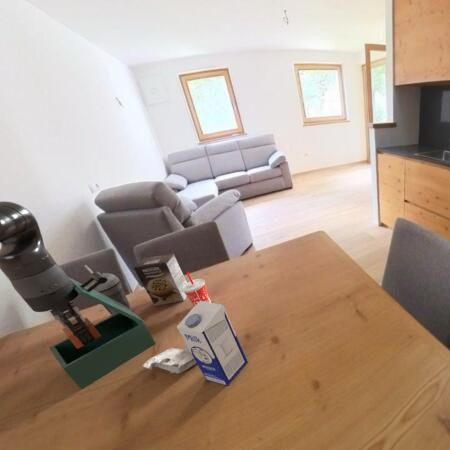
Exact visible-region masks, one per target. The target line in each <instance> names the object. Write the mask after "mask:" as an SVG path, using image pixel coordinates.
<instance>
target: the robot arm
mask: <svg viewBox="0 0 450 450" xmlns="http://www.w3.org/2000/svg"><path fill="white" fill-rule="evenodd" d="M0 271H1V272H2V273H3V274H4V276H5V277H6V278H7V279H8V280H9V281H10V284H11V286H12V287H13V289H14V290H15V292H17V294H18V295H19V296H20V297H21V298H22V300H23V301H24V302H25V303H26V304H27V305H28V307H29V308H30V309H31V310H32V311H33V312H35V313H45V312H48V311H49V313H50V314H51V316H52V317H53V318H54V319H55V320H56V321H58V322H59V323H60V324H61V326H62V327H63V329H64V328H65V329H70V330H71V331H72V332H73V333H72V334H73V335H74V336H76V337H77V338H78V339H79V340H80V342H81V343H82V344H83V345H87V344H89V343H91V342H93V341H94V340H95V338H94V337H93V335H92V334H91V333H90V331H89V327H88V326H86V324H85V323H84V321H85V317H84V316H83V315H82V313H81V312H80V308H79V307H78V306H77V305H76V304H75V303H74V302H73V301H74V300H75V299H76V298H77V297H78V296H79V295H80V294H79V293H78V292H77V291H76V290H75V289H74V284H73V283H72V282H71V280H70V279H69V278H70V277H69V275H67V273H66V272H65V270H64V269H63V268H62V267H61V266H60V265H59V264H58V263H57V262H56V260H55V259H54V258H53V256H52V255H51V254H50V253H49V251H48V250H47V249H46V247H45V243H44V238H43V235H42V231H41V229H40V225H39V223H38V220H37V218H36V216H35V215H34V214H33V213H32V212H31V211H30V210H29V209H27V208H26V207H25V206H23V205H21V204H19V203H16V202H12V201H6V200H5V201H0ZM82 326H83V327H82ZM80 327H81V328H80ZM78 328H79V329H78ZM76 329H77V330H76Z"/></svg>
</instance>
